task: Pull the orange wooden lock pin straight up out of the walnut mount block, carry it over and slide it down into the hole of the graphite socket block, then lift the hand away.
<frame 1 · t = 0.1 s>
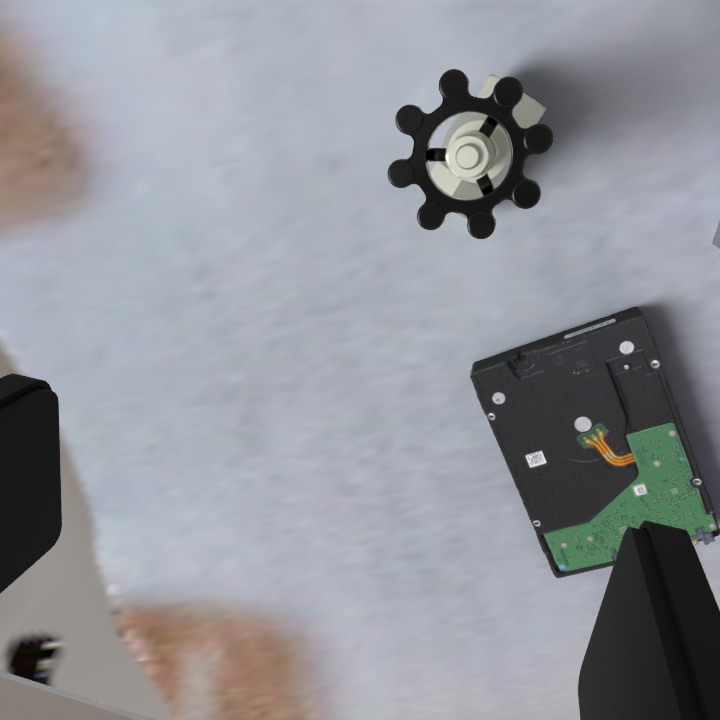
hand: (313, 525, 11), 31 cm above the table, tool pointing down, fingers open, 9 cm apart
valve: (485, 148, 38), on the table
disk drive: (591, 437, 42), on the table
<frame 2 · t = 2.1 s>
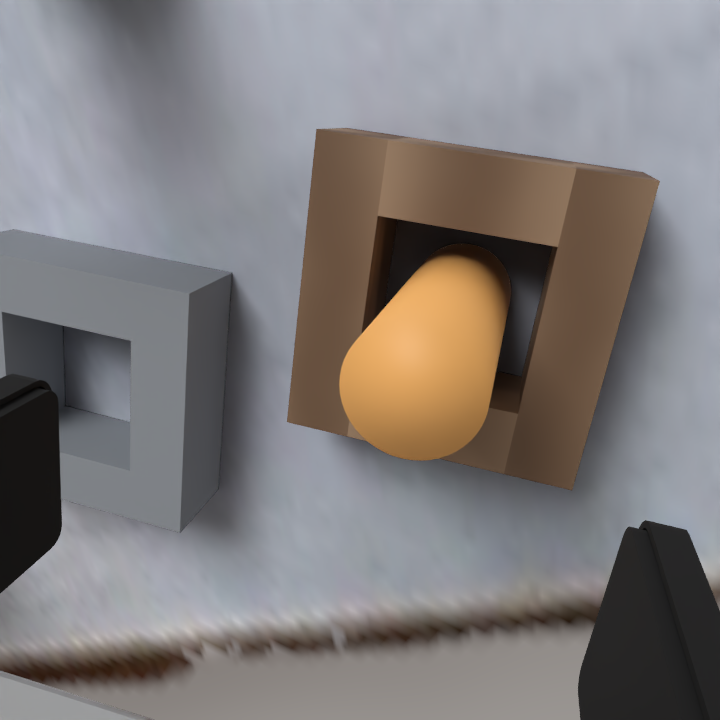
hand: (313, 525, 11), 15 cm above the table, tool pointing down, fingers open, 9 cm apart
socket block: (118, 363, 29), on the table
lock pin: (442, 330, 20), in the mount block
mount block: (461, 291, 25), on the table
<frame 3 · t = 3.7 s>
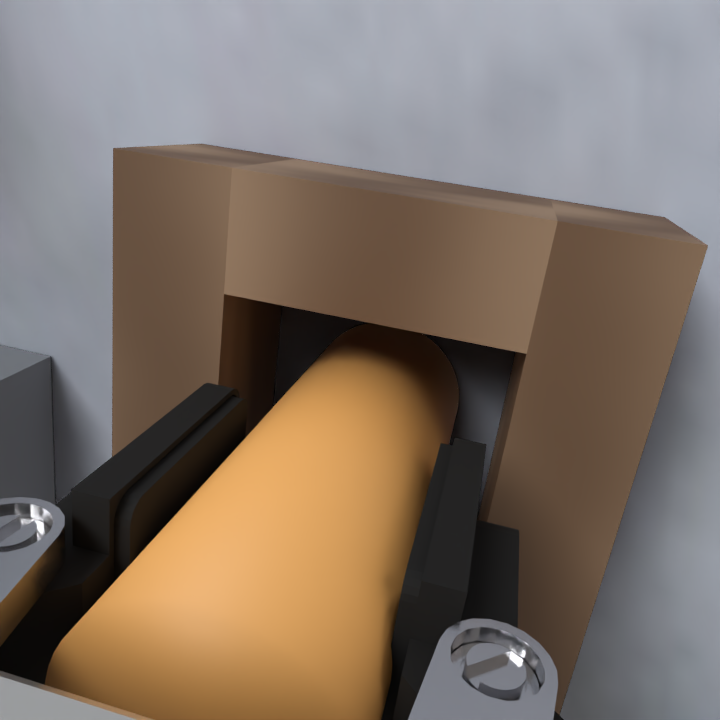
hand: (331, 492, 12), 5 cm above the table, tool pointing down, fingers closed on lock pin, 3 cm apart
lock pin: (328, 499, 12), in the mount block, touching gripper
mount block: (385, 392, 16), on the table
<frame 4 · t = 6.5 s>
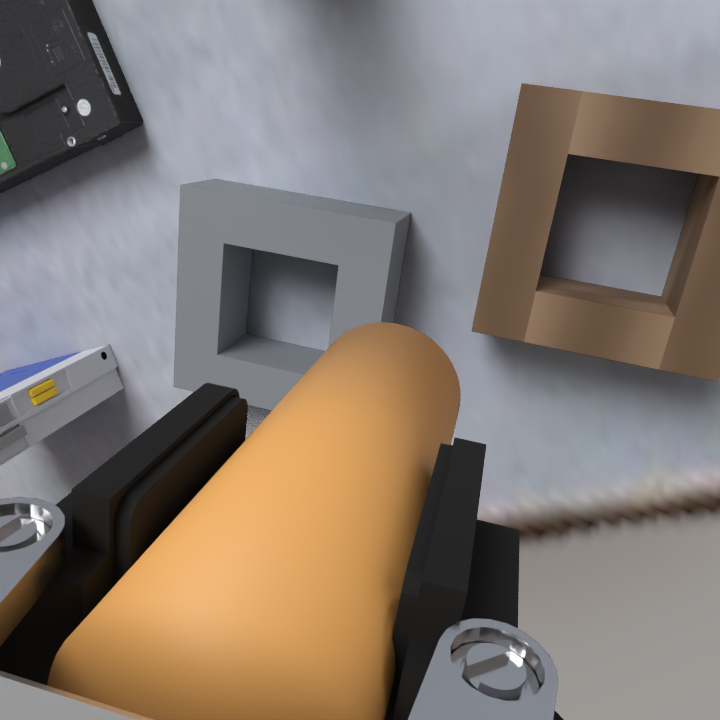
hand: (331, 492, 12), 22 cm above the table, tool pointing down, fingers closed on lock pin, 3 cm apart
socket block: (300, 294, 35), on the table
lock pin: (330, 499, 12), point 22 cm above the table, touching gripper
mount block: (614, 224, 30), on the table
walkman: (66, 377, 40), on the table
disk drive: (1, 82, 36), on the table
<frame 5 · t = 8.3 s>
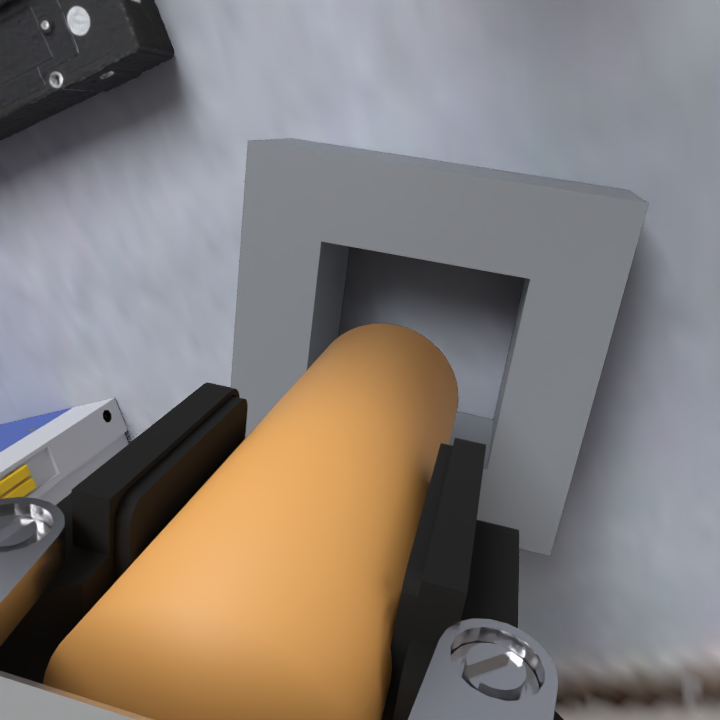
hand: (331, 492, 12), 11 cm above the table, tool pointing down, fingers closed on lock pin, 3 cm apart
socket block: (424, 324, 22), on the table
lock pin: (327, 501, 11), point 11 cm above the table, touching gripper
walkman: (49, 444, 27), on the table
when the fingers open (6 cm above the table, at t = 9.5 s): lock pin drops 1 cm, resting in socket block.
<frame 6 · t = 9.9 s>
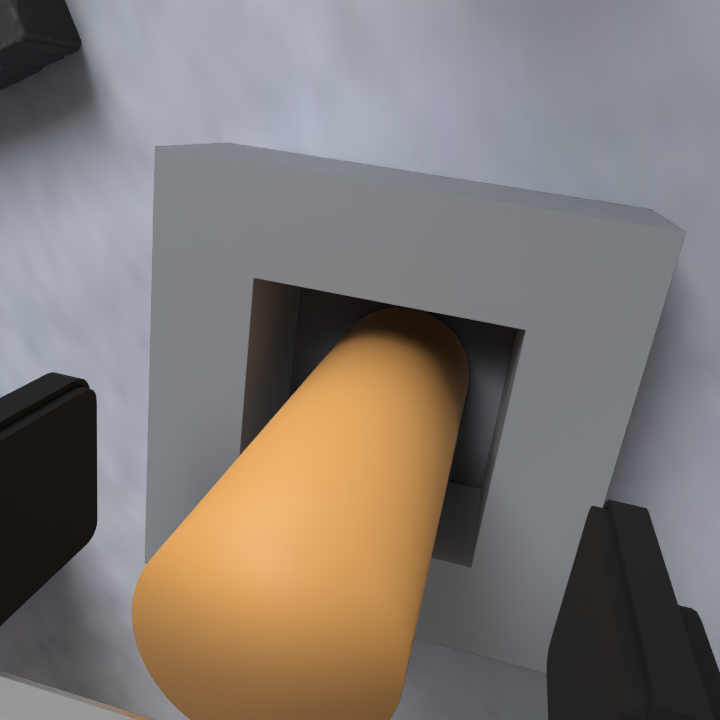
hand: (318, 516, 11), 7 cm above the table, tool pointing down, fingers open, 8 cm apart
socket block: (395, 372, 17), on the table
lock pin: (356, 461, 13), in the socket block
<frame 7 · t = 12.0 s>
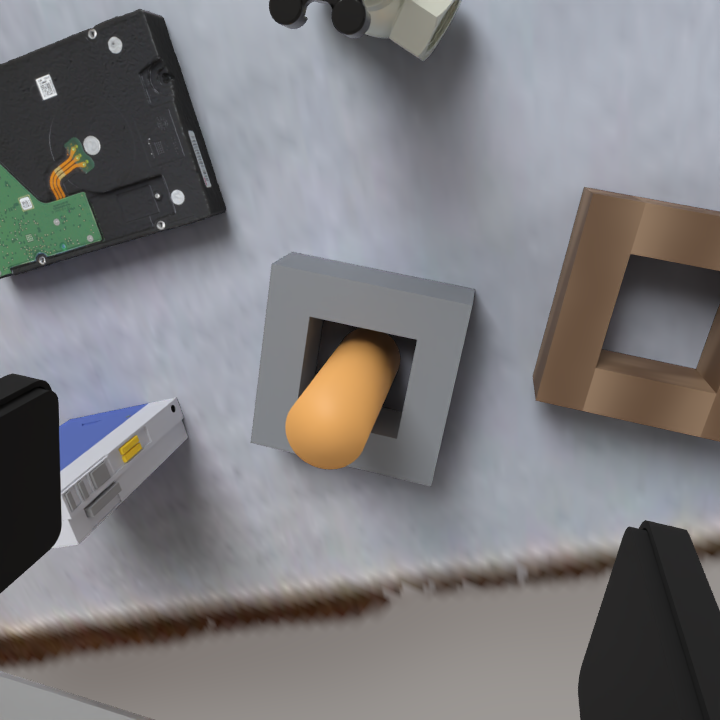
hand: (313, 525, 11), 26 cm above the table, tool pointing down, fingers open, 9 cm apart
socket block: (366, 357, 38), on the table
lock pin: (350, 389, 33), in the socket block
mount block: (657, 306, 34), on the table
walkman: (130, 426, 42), on the table
disk drive: (86, 156, 38), on the table
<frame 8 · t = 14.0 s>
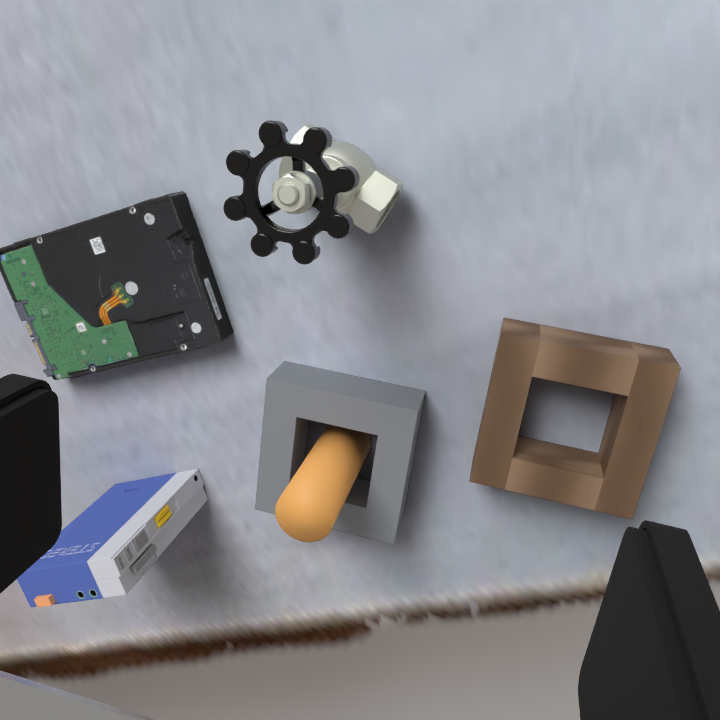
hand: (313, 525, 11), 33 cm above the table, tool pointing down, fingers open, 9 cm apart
valve: (350, 176, 42), on the table
socket block: (344, 440, 48), on the table
lock pin: (327, 474, 43), in the socket block
mount block: (565, 406, 44), on the table
walkman: (162, 489, 53), on the table
disk drive: (126, 286, 49), on the table
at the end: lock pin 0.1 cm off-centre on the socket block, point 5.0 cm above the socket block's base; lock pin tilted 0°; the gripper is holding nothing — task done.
